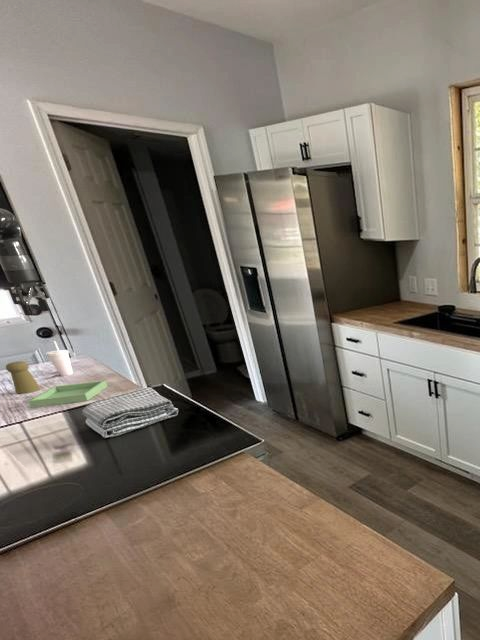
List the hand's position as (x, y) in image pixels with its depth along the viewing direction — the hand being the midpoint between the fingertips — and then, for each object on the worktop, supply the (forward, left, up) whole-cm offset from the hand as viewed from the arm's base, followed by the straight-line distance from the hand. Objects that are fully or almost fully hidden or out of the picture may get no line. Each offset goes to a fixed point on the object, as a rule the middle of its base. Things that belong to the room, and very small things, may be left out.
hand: (38, 313), depth 153 cm
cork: (-5, -12, -26) cm, 29 cm away
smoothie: (-2, +6, -26) cm, 27 cm away
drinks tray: (+13, -26, -26) cm, 39 cm away
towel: (+43, -62, -26) cm, 80 cm away
